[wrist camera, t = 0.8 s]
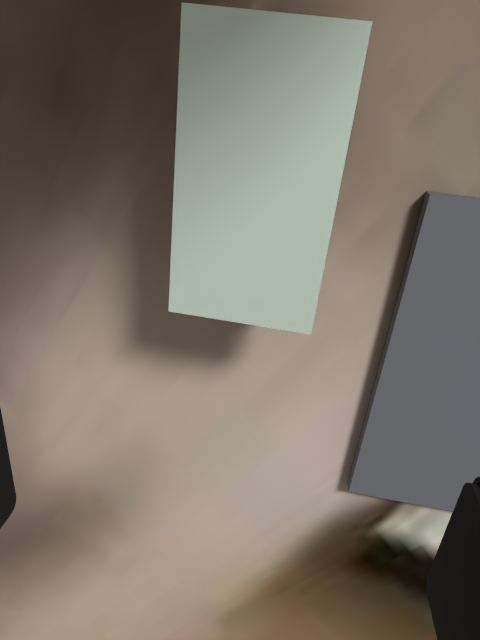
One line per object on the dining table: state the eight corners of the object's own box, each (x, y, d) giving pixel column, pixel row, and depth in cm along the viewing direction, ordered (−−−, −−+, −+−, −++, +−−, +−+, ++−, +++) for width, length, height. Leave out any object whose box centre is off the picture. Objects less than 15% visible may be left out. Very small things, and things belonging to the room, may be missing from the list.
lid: (197, 15, 20) (181, 2, 17) (365, 32, 19) (372, 21, 17) (182, 292, 25) (168, 311, 23) (311, 313, 25) (311, 334, 22)
